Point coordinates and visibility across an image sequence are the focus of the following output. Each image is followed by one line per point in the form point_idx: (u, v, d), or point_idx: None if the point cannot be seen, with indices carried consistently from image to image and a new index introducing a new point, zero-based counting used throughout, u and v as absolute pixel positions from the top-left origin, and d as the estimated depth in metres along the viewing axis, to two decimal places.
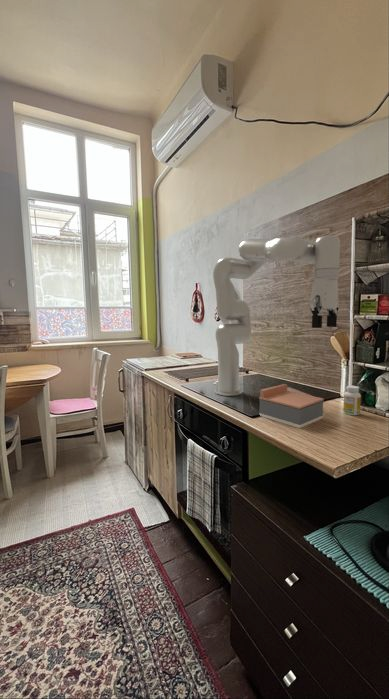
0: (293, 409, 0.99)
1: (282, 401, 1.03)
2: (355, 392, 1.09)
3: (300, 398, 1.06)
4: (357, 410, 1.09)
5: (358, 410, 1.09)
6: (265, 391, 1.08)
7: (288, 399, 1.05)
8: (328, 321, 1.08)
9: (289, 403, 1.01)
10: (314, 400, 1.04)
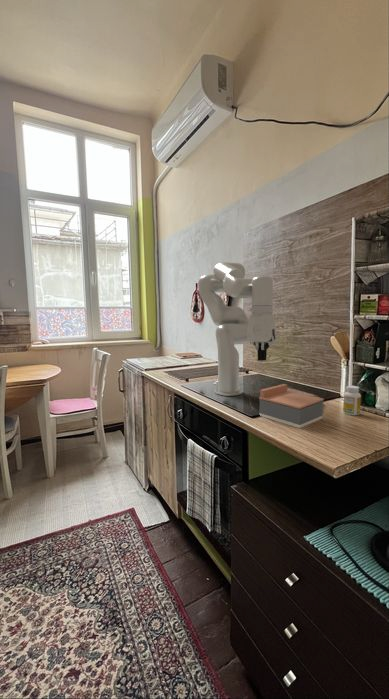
0: (293, 409, 0.99)
1: (282, 401, 1.03)
2: (355, 392, 1.09)
3: (300, 398, 1.06)
4: (357, 410, 1.09)
5: (358, 410, 1.09)
6: (265, 391, 1.08)
7: (288, 399, 1.05)
8: None
9: (289, 403, 1.01)
10: (314, 400, 1.04)
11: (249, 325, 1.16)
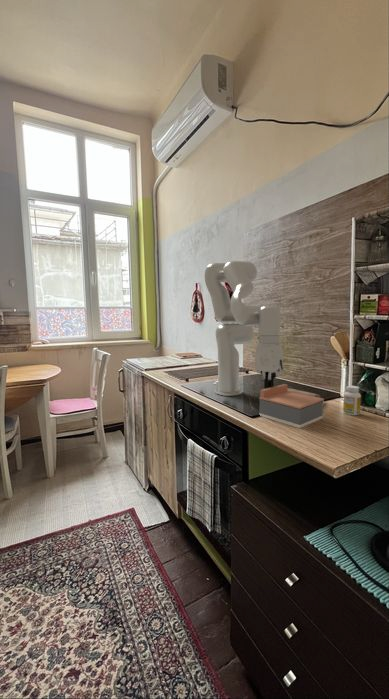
0: (293, 409, 0.99)
1: (282, 401, 1.03)
2: (355, 392, 1.09)
3: (300, 398, 1.06)
4: (357, 410, 1.09)
5: (358, 410, 1.09)
6: (265, 391, 1.08)
7: (288, 399, 1.05)
8: None
9: (289, 403, 1.01)
10: (314, 400, 1.04)
11: (256, 354, 1.14)
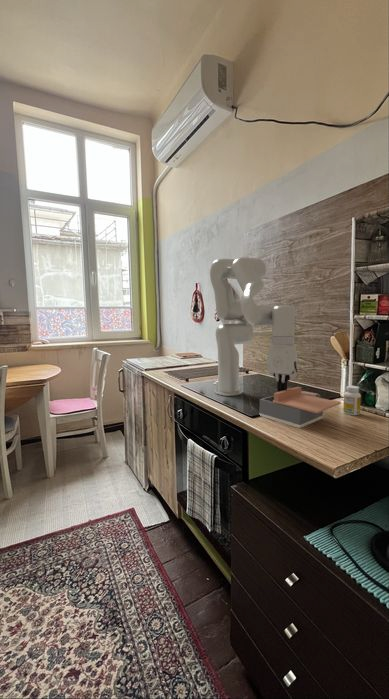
0: (293, 409, 0.99)
1: (298, 405, 0.99)
2: (355, 392, 1.09)
3: (316, 402, 1.02)
4: (357, 410, 1.09)
5: (358, 410, 1.09)
6: (279, 394, 1.04)
7: (304, 403, 1.01)
8: None
9: (305, 407, 0.96)
10: (331, 404, 0.99)
11: (269, 355, 1.10)
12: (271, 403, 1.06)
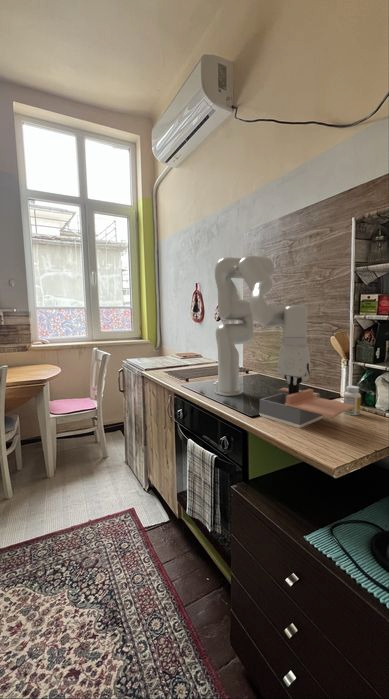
0: (293, 409, 0.99)
1: (311, 408, 0.95)
2: (355, 392, 1.09)
3: (330, 405, 0.98)
4: (357, 410, 1.09)
5: (358, 410, 1.09)
6: (291, 397, 1.00)
7: (317, 406, 0.97)
8: None
9: (320, 411, 0.93)
10: (346, 407, 0.96)
11: (280, 357, 1.06)
12: (271, 403, 1.06)
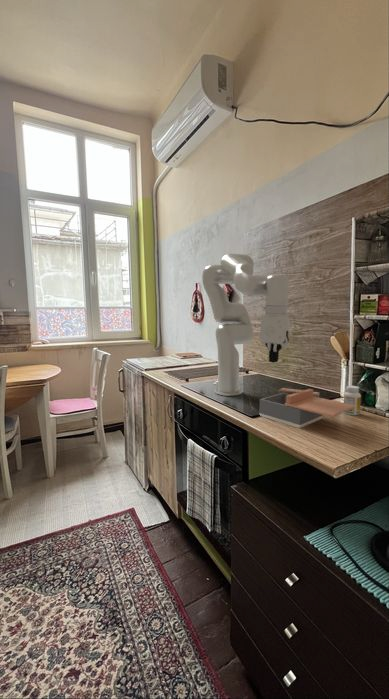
0: (293, 409, 0.99)
1: (311, 408, 0.95)
2: (355, 392, 1.09)
3: (330, 405, 0.98)
4: (357, 410, 1.09)
5: (358, 410, 1.09)
6: (291, 397, 1.00)
7: (317, 406, 0.97)
8: None
9: (320, 411, 0.93)
10: (346, 407, 0.96)
11: (262, 325, 1.11)
12: (271, 403, 1.06)
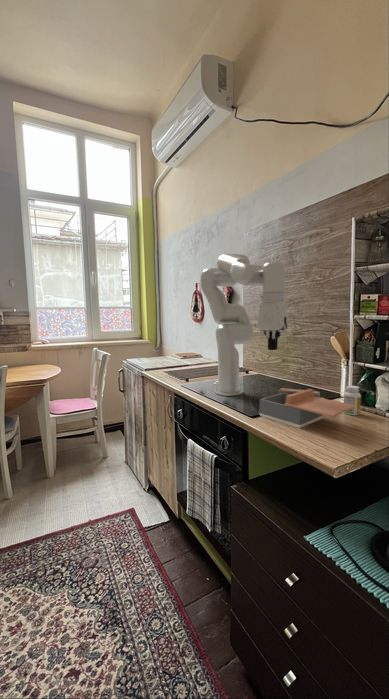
0: (293, 409, 0.99)
1: (311, 408, 0.95)
2: (355, 392, 1.09)
3: (330, 405, 0.98)
4: (357, 410, 1.09)
5: (358, 410, 1.09)
6: (291, 397, 1.00)
7: (317, 406, 0.97)
8: None
9: (320, 411, 0.93)
10: (346, 407, 0.96)
11: (259, 313, 1.12)
12: (271, 403, 1.06)
